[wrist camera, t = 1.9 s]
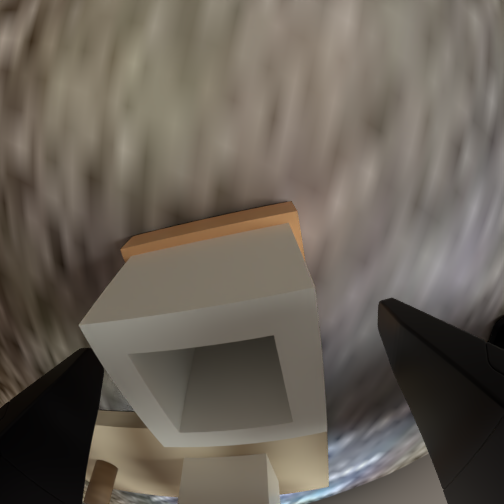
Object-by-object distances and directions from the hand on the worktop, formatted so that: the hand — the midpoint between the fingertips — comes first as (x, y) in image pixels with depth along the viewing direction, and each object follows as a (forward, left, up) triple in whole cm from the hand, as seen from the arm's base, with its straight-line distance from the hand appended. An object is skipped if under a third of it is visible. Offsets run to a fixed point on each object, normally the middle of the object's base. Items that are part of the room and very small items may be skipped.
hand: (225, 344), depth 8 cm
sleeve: (0, 0, -3) cm, 3 cm away
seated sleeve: (+3, +13, -2) cm, 13 cm away
